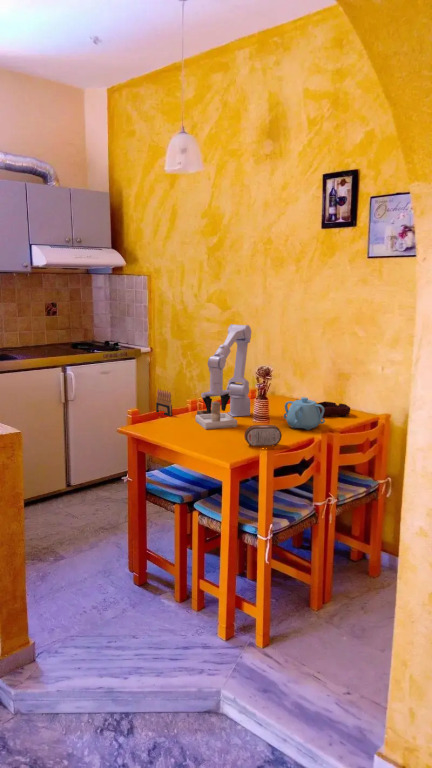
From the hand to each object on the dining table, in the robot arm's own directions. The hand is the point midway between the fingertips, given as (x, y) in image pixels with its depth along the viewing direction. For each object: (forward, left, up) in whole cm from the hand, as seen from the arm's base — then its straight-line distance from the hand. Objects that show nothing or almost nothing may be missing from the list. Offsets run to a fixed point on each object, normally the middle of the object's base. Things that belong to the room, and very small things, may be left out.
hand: (216, 411), depth 268 cm
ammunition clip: (+18, -26, -6) cm, 32 cm away
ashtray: (-60, -2, -6) cm, 61 cm away
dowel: (0, 0, -5) cm, 5 cm away
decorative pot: (-36, +16, -6) cm, 40 cm away
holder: (-1, -15, -6) cm, 16 cm away
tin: (-7, +38, -6) cm, 39 cm away
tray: (0, 0, -6) cm, 6 cm away
